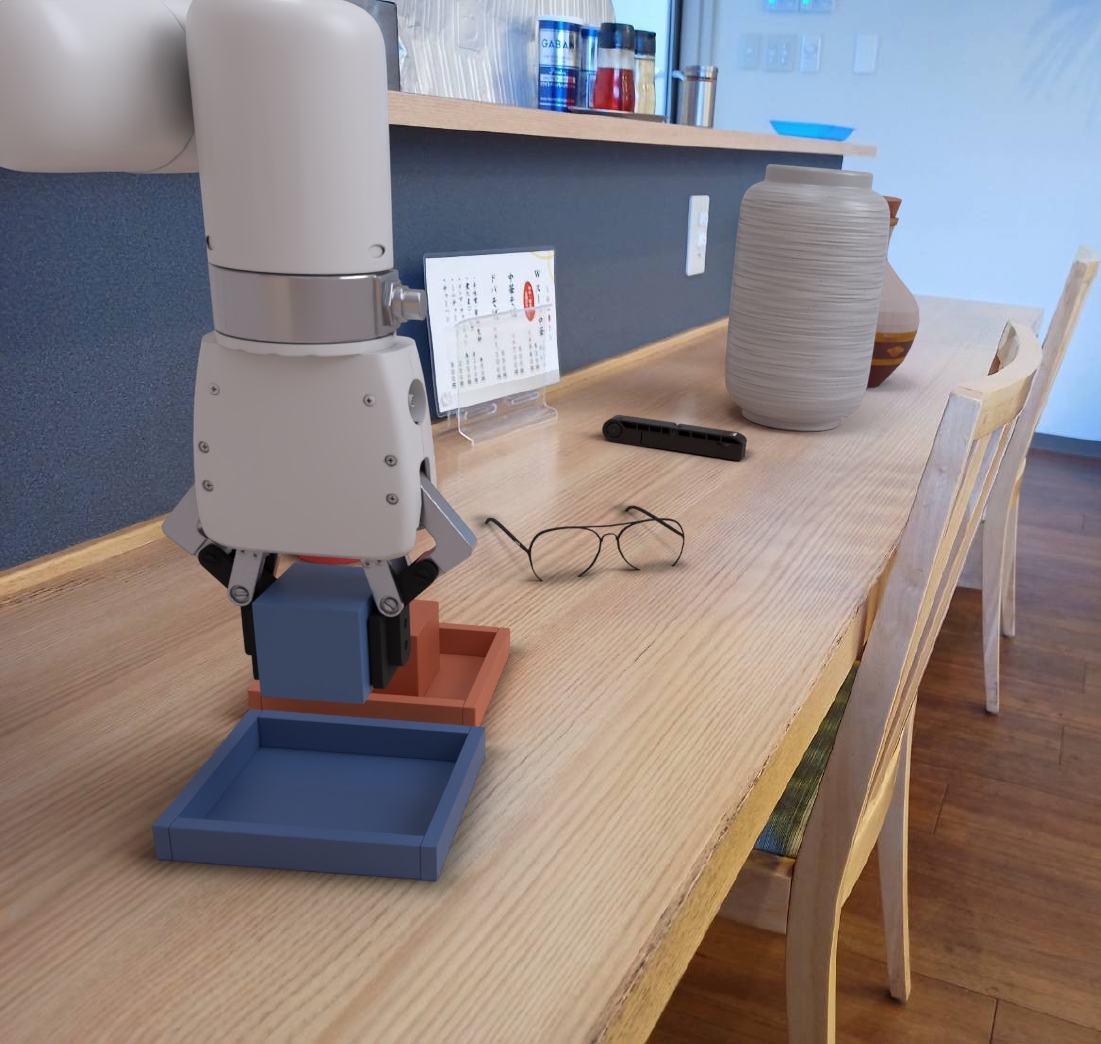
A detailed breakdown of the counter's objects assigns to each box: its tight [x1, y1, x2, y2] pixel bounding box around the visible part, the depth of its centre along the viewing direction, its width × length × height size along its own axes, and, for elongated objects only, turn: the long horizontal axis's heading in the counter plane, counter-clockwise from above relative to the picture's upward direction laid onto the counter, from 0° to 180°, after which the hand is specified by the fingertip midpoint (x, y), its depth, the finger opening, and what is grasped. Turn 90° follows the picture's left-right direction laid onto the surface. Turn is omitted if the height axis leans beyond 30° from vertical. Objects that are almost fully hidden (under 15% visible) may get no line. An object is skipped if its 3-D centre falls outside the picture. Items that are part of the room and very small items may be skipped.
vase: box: [724, 163, 890, 432], centre depth 135 cm, size 20×20×34 cm
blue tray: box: [151, 709, 486, 882], centre depth 53 cm, size 14×11×3 cm
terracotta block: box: [371, 599, 440, 697], centre depth 64 cm, size 5×5×5 cm
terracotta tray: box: [247, 621, 511, 727], centre depth 64 cm, size 14×11×3 cm
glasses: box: [484, 505, 685, 582], centre depth 90 cm, size 14×15×5 cm
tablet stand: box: [601, 414, 748, 461], centre depth 121 cm, size 18×3×3 cm, turn 74°
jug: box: [867, 195, 921, 389], centre depth 163 cm, size 20×18×30 cm
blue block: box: [252, 561, 375, 704], centre depth 49 cm, size 5×5×5 cm
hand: (330, 667), depth 50 cm, fingers closed on blue block, 5 cm apart
